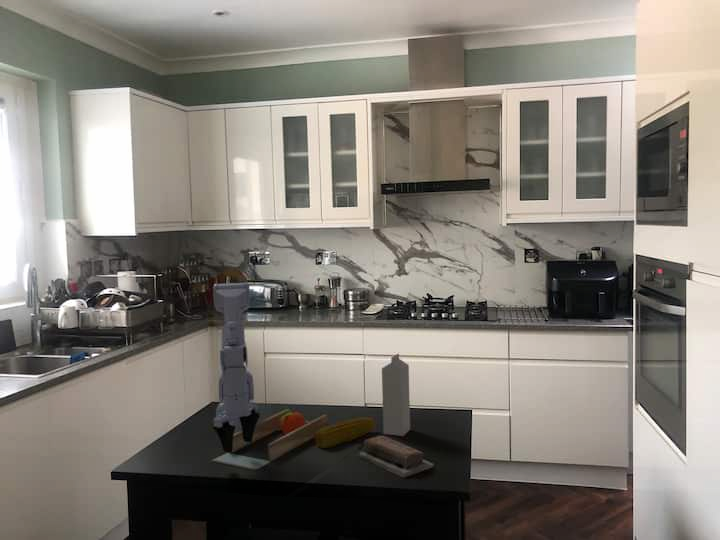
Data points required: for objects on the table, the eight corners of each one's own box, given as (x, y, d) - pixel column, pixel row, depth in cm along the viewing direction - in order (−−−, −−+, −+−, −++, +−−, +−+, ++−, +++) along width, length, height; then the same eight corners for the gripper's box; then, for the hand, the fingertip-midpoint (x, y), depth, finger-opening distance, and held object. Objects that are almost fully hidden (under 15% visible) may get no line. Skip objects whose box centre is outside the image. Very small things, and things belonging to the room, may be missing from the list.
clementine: (284, 443, 176) (283, 418, 175) (273, 436, 182) (272, 412, 181) (310, 437, 180) (309, 412, 179) (299, 430, 186) (298, 406, 185)
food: (327, 454, 168) (326, 432, 167) (312, 449, 171) (311, 427, 171) (380, 432, 183) (379, 412, 183) (365, 428, 187) (364, 408, 186)
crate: (228, 455, 168) (227, 436, 168) (287, 425, 191) (287, 408, 191) (272, 464, 161) (271, 444, 161) (327, 431, 184) (327, 414, 184)
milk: (410, 429, 184) (409, 353, 182) (403, 436, 179) (402, 358, 177) (390, 427, 187) (389, 352, 185) (382, 434, 181) (381, 357, 179)
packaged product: (356, 440, 164) (386, 431, 171) (357, 458, 165) (386, 449, 171) (403, 459, 150) (434, 449, 156) (403, 480, 151) (434, 468, 157)
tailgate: (227, 456, 168) (210, 463, 162) (227, 452, 168) (210, 460, 162) (271, 464, 161) (255, 473, 155) (271, 461, 161) (254, 469, 155)
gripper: (228, 403, 151) (231, 459, 152) (266, 387, 164) (268, 439, 165) (205, 399, 155) (208, 454, 156) (244, 384, 167) (246, 435, 168)
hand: (238, 446), depth 161 cm, fingers open, 7 cm apart
